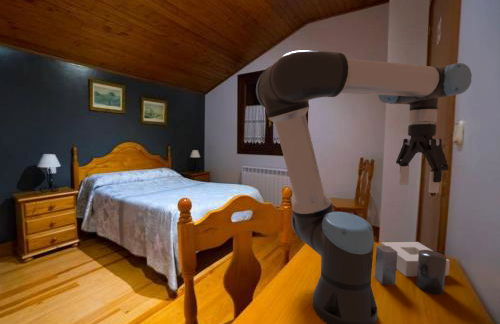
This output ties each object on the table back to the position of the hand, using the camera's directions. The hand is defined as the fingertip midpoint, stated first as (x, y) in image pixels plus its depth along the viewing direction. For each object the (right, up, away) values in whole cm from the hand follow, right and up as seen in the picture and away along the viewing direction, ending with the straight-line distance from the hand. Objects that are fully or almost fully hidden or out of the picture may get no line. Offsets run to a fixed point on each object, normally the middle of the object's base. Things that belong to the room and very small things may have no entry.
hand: (417, 188), depth 82 cm
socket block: (0, -27, +2) cm, 27 cm away
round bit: (-4, -28, -11) cm, 30 cm away
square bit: (-15, -27, -7) cm, 32 cm away
